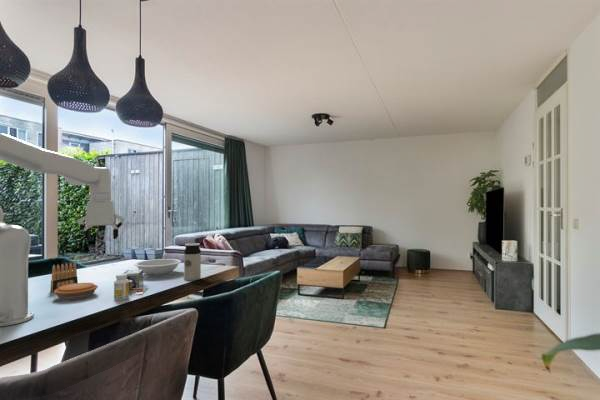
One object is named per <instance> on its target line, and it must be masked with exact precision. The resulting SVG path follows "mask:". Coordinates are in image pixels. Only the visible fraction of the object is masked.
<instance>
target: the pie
mask: <svg viewBox="0 0 600 400" xmlns="http://www.w3.org/2000/svg"><path fill="white" fill-rule="evenodd" d="M98 287H99V285H97V284H94V282H93V283H92V282H78V283H75V284H68V285H64V286H61V287H59V288H58V289H56V290H54V292H53V293H54V294H55V295H56V296H57V297H58V298H59V300H61V301H77V300H83V299H87V298H89V297H92V296H93V295H94V293H95V292H96V290H97V289H98Z"/></svg>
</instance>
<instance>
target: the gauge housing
mask: <svg viewBox="0 0 600 400" xmlns="http://www.w3.org/2000/svg"><path fill="white" fill-rule="evenodd" d="M122 274H127V278H126V279H134V285H133V286H136V287H135V288H143V290H142V291H135V293H134V296H140V295H141V296H142V295H143V294H144V293H145V292H146V290H147V289H148V286H147V287H142V286H143V285H144V273H143V269H142V270H139V269H127V270H126V271H124V272H122Z"/></svg>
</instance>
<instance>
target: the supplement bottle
mask: <svg viewBox="0 0 600 400" xmlns="http://www.w3.org/2000/svg"><path fill="white" fill-rule="evenodd" d="M126 278H127V274H123V273H119V274H115V280H114V282H113V290H114V291H113V299H114V300H115V301H123V300H127V299H129V297H130V290H129V280H128V279H126Z"/></svg>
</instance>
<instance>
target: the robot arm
mask: <svg viewBox="0 0 600 400" xmlns="http://www.w3.org/2000/svg"><path fill="white" fill-rule="evenodd" d="M0 161H2V162H5V163H8V164H11V165H15V166H17V167H20V168H23V169H26V170H29V171H31V172H36V173H40V174H50V175H57V176H62V177H63V178H64V180H65V182H66V183H68V184H70V185H72V186H88V185H89V186H88V187H89V189H88V190H89V193H88V194H87V195H85V199H87V200H89V201H87V202H86V208H85V209H86V210H85V215H84V216H82V217H81V218H78V219H76V223H77V225H78V226H79V228H81V229H82V230H83V231H84V238H85V239H86V241H91V240H92V235H91V233H92V231H91V228H92V227H96V226H98V227H99V226H111V227H112V229H113V230H112V237H113V240H117V238H118V237H119V229H120V227H122V226H123V224H124V222H125V221H126V218H125V217H123V216H121V215H118V214H117V213H116V209H115V204H114V203H115V202H114V201H113V200H112V186H111V169H109V168H108V167H102V166H101V167H100V166H99V167H98V166H94V165H92V164H90V163H88V162H85V161H83V160H80V159H79V158H75V157H73V156H68V155H65V154H63V153H62V154H61V153H58V152H55V151H51V150H48V149H45V148H41V147H39V146H37V145H33V144H32V143H29V142H27V141H25V140H22V139H19V138H17V137H14V136H11V135H10V134H6V133H3V132H0ZM4 216H5V214H4V211H3V209H2V207H1V206H0V327H7V326H12V325H13V326H14V325H17V324H21V323H24V322H28V321H30V320H31V319H33V318H34V316H35V315H34V312H33V311H29V256H30V251H31V250H30V249H31V246H32V237H31V234H30V233H29V231H28V230H27V229H26V228H25V227H22V226H20V225H15V224H7V223H5V221H4ZM117 219H118V220H119V222H118V223H116V221H117ZM83 221H85V224H84V223H83Z"/></svg>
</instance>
